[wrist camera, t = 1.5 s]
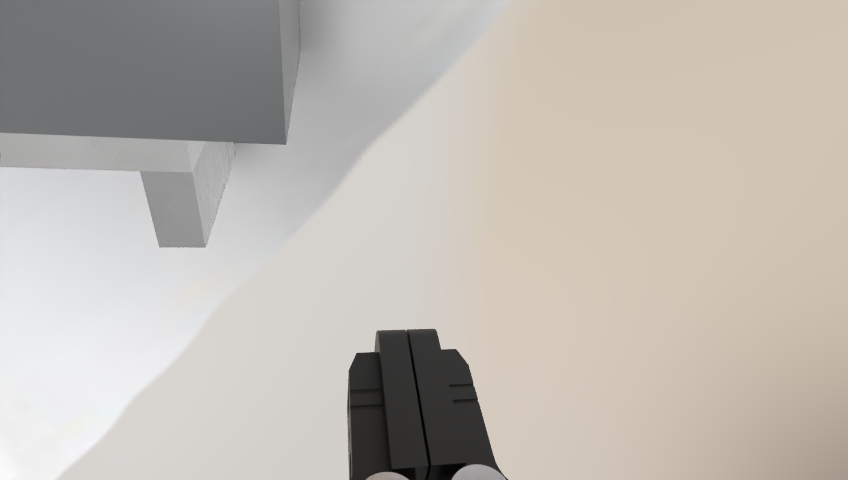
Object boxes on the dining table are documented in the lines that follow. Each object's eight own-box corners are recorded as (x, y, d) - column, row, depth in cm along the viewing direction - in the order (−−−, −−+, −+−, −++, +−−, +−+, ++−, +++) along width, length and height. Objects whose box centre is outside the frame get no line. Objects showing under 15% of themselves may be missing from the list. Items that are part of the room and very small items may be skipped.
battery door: (-60, 42, 18) (-227, 119, 13) (224, 63, 20) (185, 137, 15) (-14, 145, 21) (-137, 246, 15) (235, 154, 23) (205, 247, 17)
